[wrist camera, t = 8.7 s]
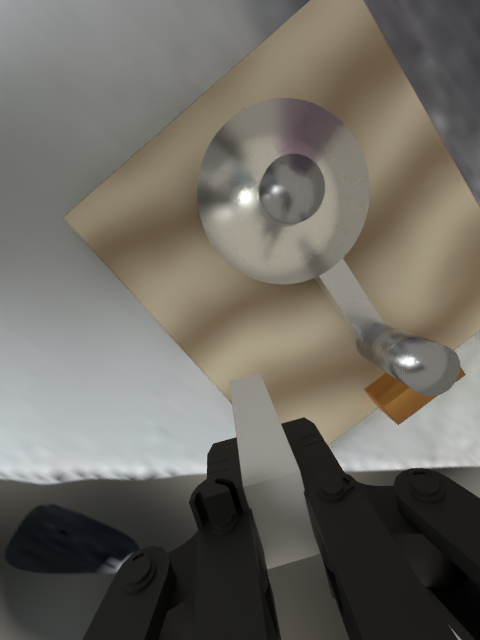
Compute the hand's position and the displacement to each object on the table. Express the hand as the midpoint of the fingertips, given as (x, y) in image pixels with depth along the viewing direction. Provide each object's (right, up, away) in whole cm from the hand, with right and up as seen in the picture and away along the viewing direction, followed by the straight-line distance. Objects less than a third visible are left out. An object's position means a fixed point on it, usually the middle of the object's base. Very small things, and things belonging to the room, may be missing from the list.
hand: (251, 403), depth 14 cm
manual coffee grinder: (+4, +8, +4) cm, 10 cm away
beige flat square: (+4, +8, +6) cm, 11 cm away
